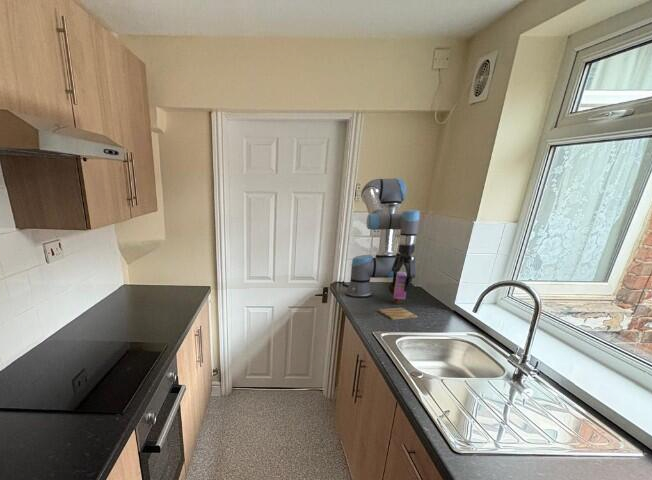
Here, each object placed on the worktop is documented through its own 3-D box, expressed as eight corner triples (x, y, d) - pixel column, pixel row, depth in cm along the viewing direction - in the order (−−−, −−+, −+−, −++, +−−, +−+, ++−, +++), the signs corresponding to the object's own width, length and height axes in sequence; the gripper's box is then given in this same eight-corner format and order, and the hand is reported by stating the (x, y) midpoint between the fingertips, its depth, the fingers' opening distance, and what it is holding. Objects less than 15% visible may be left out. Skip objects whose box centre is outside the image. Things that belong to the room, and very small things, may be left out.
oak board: (377, 311, 224) (378, 309, 224) (401, 309, 227) (401, 307, 226) (392, 319, 210) (392, 317, 210) (417, 317, 213) (417, 316, 212)
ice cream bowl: (382, 301, 241) (385, 275, 234) (397, 299, 245) (401, 274, 239) (395, 306, 232) (399, 279, 226) (410, 303, 237) (414, 277, 230)
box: (405, 299, 209) (409, 275, 204) (393, 298, 210) (396, 275, 205) (405, 294, 218) (408, 271, 213) (393, 294, 219) (396, 271, 214)
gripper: (427, 247, 193) (420, 293, 202) (401, 241, 214) (395, 283, 224) (413, 247, 192) (406, 294, 201) (388, 241, 213) (383, 283, 222)
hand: (400, 288), depth 212 cm, fingers closed on box, 12 cm apart
